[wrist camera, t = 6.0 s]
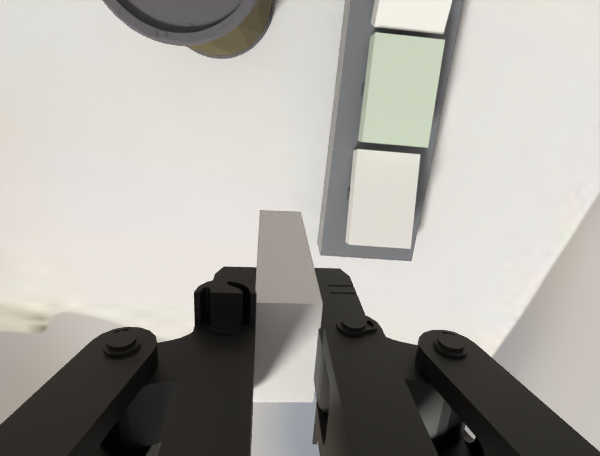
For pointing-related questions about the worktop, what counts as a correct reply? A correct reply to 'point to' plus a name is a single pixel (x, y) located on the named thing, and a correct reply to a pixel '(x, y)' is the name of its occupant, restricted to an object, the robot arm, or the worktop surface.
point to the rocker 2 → (382, 198)
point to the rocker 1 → (411, 15)
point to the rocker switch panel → (348, 124)
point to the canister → (199, 23)
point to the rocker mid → (400, 89)
